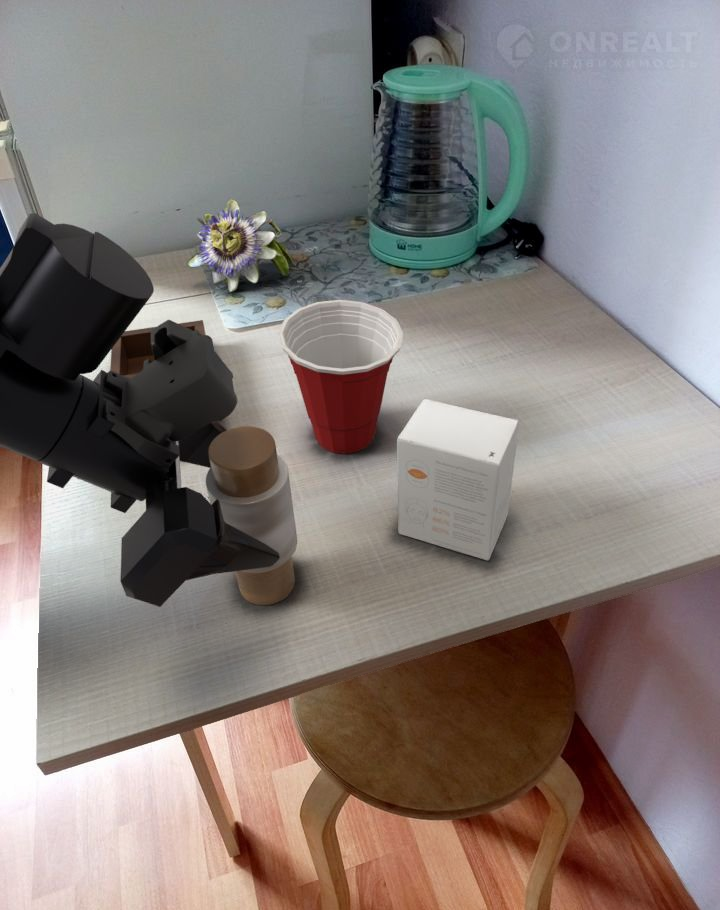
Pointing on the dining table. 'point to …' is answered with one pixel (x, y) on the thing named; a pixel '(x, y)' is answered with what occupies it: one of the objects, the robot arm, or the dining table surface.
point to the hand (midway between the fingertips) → (266, 512)
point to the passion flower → (237, 246)
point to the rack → (139, 349)
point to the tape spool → (255, 505)
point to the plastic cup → (341, 367)
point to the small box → (455, 477)
